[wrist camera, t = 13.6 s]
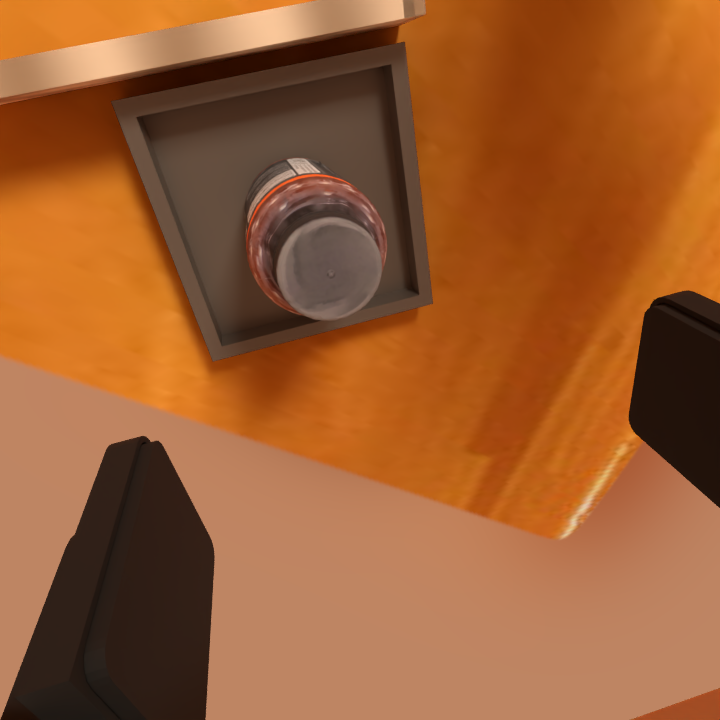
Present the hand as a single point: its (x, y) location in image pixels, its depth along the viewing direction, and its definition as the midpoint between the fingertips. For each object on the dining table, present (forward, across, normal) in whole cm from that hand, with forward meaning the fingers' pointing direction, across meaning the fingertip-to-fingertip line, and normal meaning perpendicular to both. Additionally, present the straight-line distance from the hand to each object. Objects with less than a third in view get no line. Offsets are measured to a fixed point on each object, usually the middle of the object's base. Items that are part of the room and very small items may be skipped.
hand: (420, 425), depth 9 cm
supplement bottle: (+21, 0, 0) cm, 21 cm away
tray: (+22, 0, +1) cm, 22 cm away
